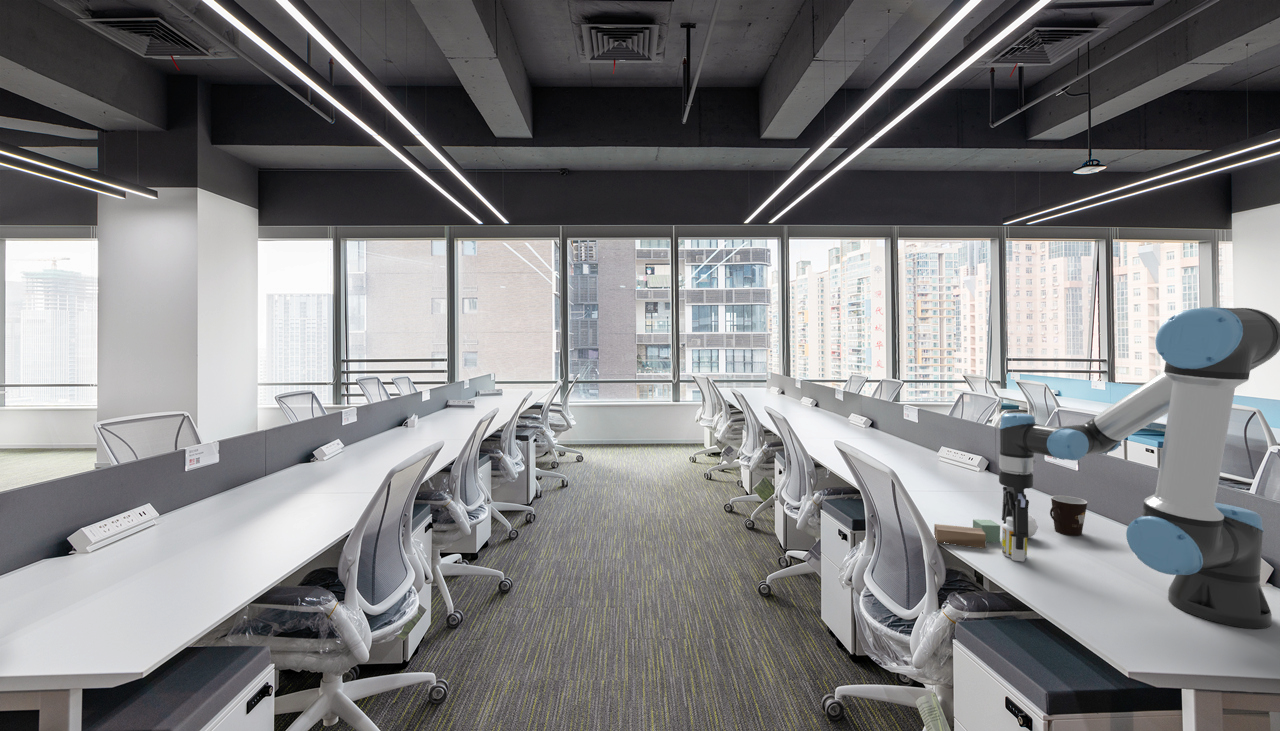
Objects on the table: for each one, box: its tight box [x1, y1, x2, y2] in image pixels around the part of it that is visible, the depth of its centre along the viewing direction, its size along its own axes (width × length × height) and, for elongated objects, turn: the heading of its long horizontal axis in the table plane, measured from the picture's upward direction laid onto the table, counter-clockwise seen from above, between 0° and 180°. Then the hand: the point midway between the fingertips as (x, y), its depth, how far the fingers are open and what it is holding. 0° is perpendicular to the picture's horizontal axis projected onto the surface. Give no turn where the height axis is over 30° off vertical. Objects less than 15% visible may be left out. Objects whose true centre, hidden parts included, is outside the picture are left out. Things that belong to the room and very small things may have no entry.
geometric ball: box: [1027, 513, 1039, 539], centre depth 160 cm, size 8×8×8 cm
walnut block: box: [933, 523, 986, 549], centre depth 156 cm, size 5×12×4 cm, turn 69°
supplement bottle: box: [1001, 517, 1028, 560], centre depth 146 cm, size 6×6×10 cm
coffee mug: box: [1049, 495, 1088, 537], centre depth 163 cm, size 12×9×10 cm
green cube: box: [972, 518, 1001, 543], centre depth 159 cm, size 5×5×5 cm
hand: (1013, 554), depth 146 cm, fingers open, 7 cm apart
